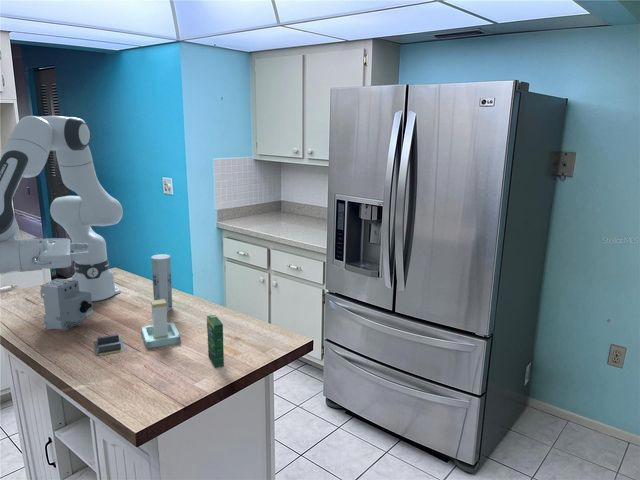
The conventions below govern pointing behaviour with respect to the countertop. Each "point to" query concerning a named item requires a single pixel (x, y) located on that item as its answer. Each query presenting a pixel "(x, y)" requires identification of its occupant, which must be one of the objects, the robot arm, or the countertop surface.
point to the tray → (151, 342)
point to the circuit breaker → (64, 304)
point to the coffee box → (215, 341)
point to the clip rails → (108, 345)
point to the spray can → (162, 278)
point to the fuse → (159, 318)
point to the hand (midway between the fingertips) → (88, 250)
